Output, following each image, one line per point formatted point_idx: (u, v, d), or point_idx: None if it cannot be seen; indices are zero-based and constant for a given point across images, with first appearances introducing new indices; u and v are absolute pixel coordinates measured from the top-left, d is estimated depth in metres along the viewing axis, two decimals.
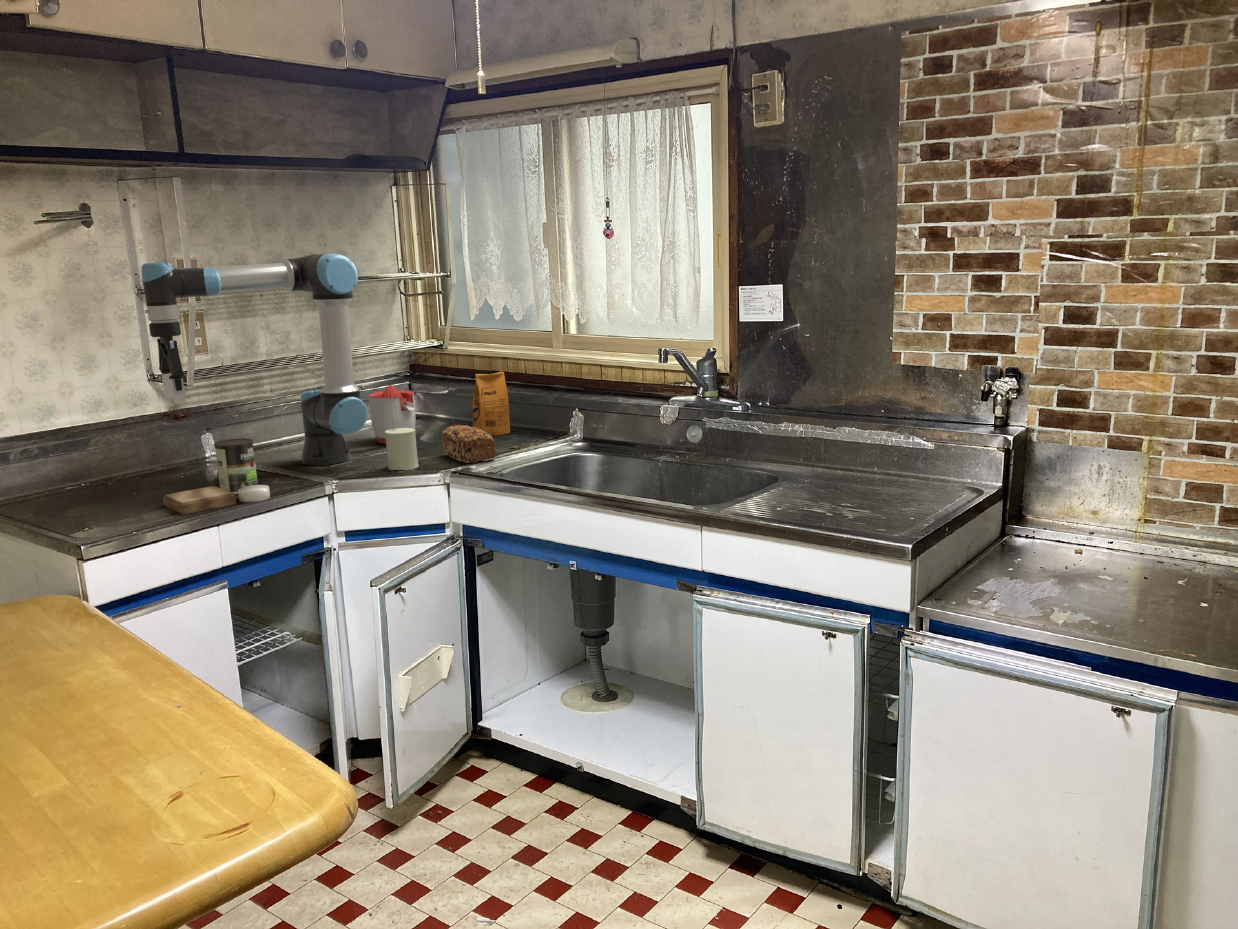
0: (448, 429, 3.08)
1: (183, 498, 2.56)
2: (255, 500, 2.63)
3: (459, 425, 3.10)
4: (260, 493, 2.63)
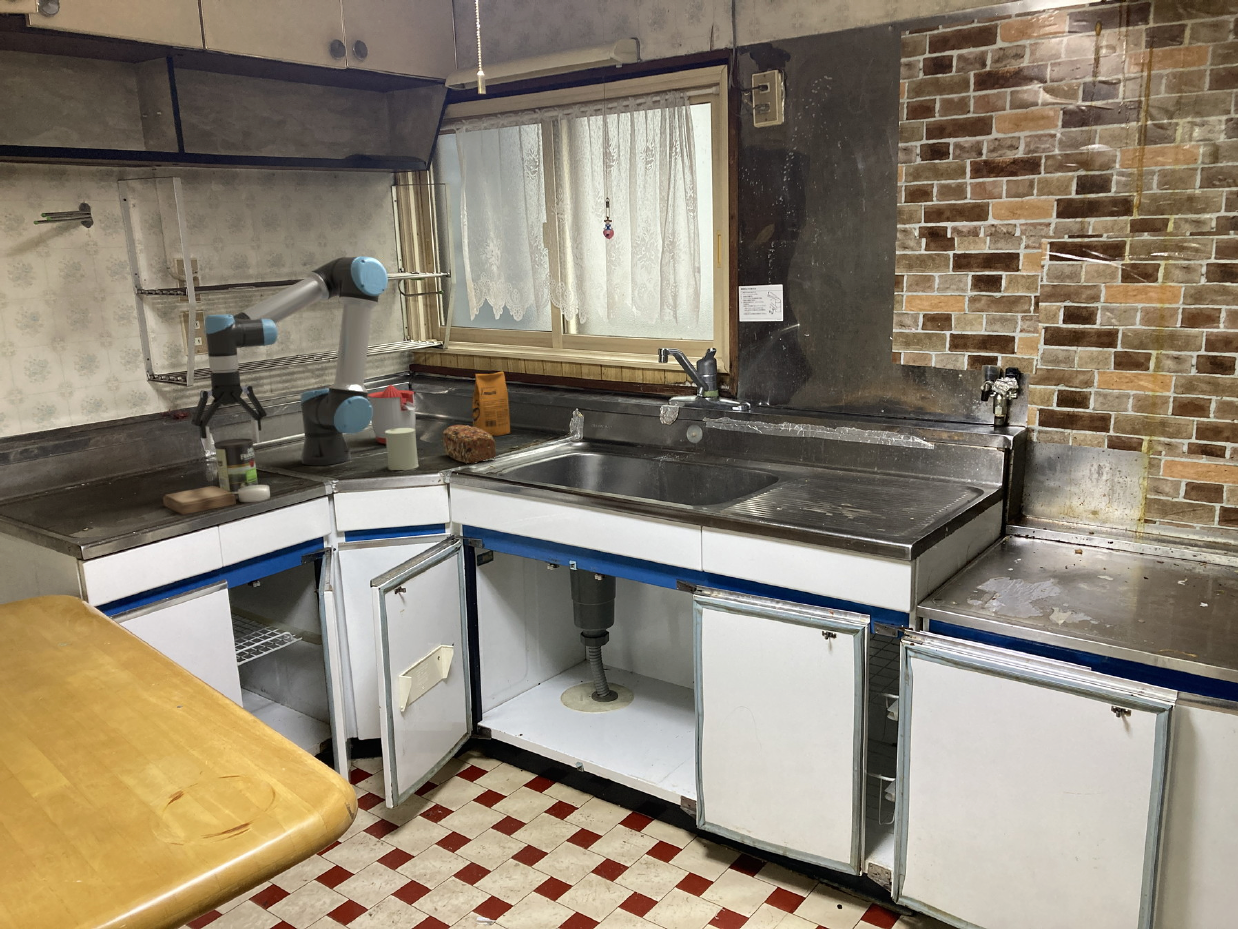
0: (449, 429, 3.09)
1: (183, 498, 2.56)
2: (255, 500, 2.63)
3: (460, 425, 3.10)
4: (260, 493, 2.63)
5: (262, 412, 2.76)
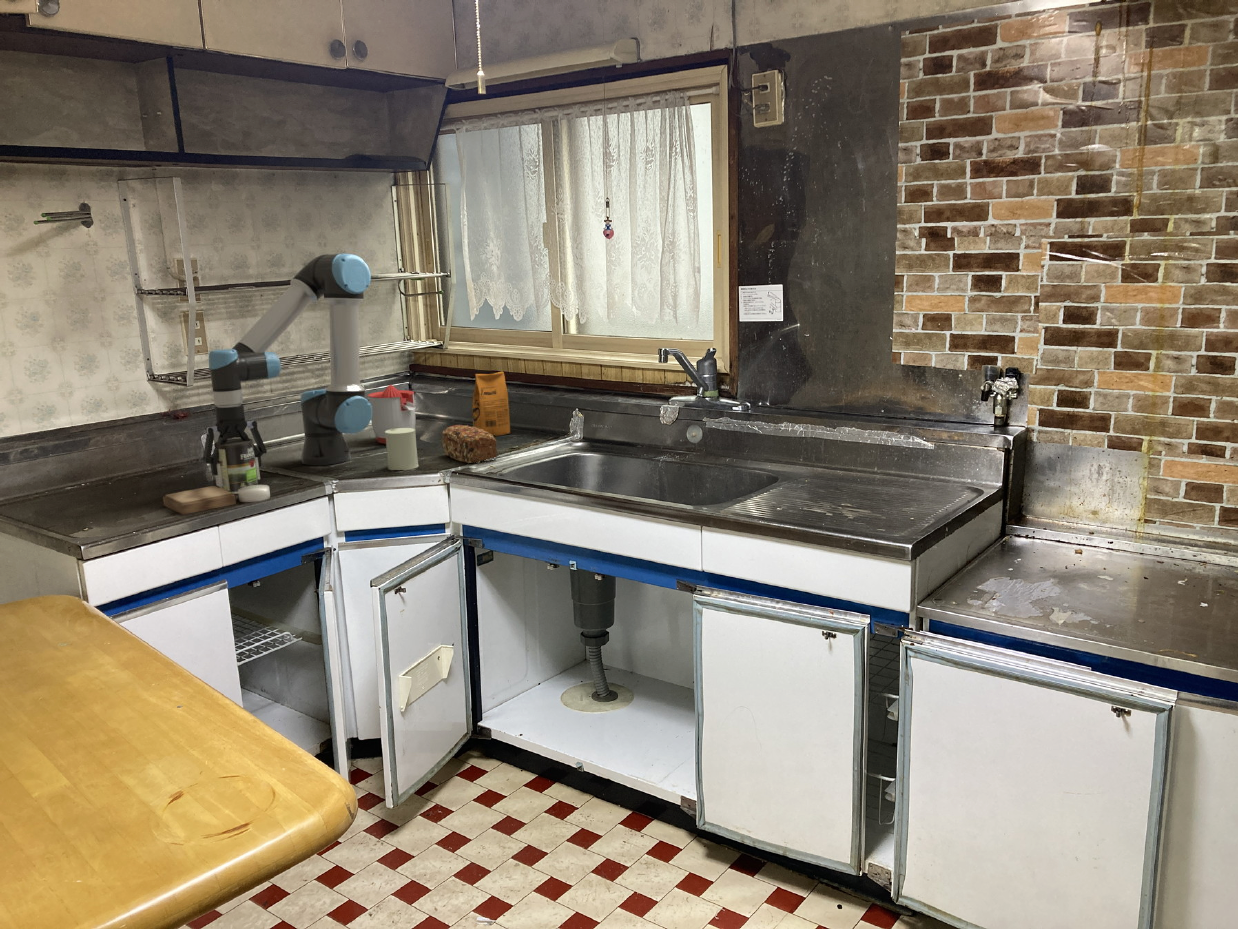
0: (448, 429, 3.08)
1: (183, 498, 2.56)
2: (255, 500, 2.63)
3: (459, 425, 3.10)
4: (260, 493, 2.63)
5: (262, 448, 2.78)
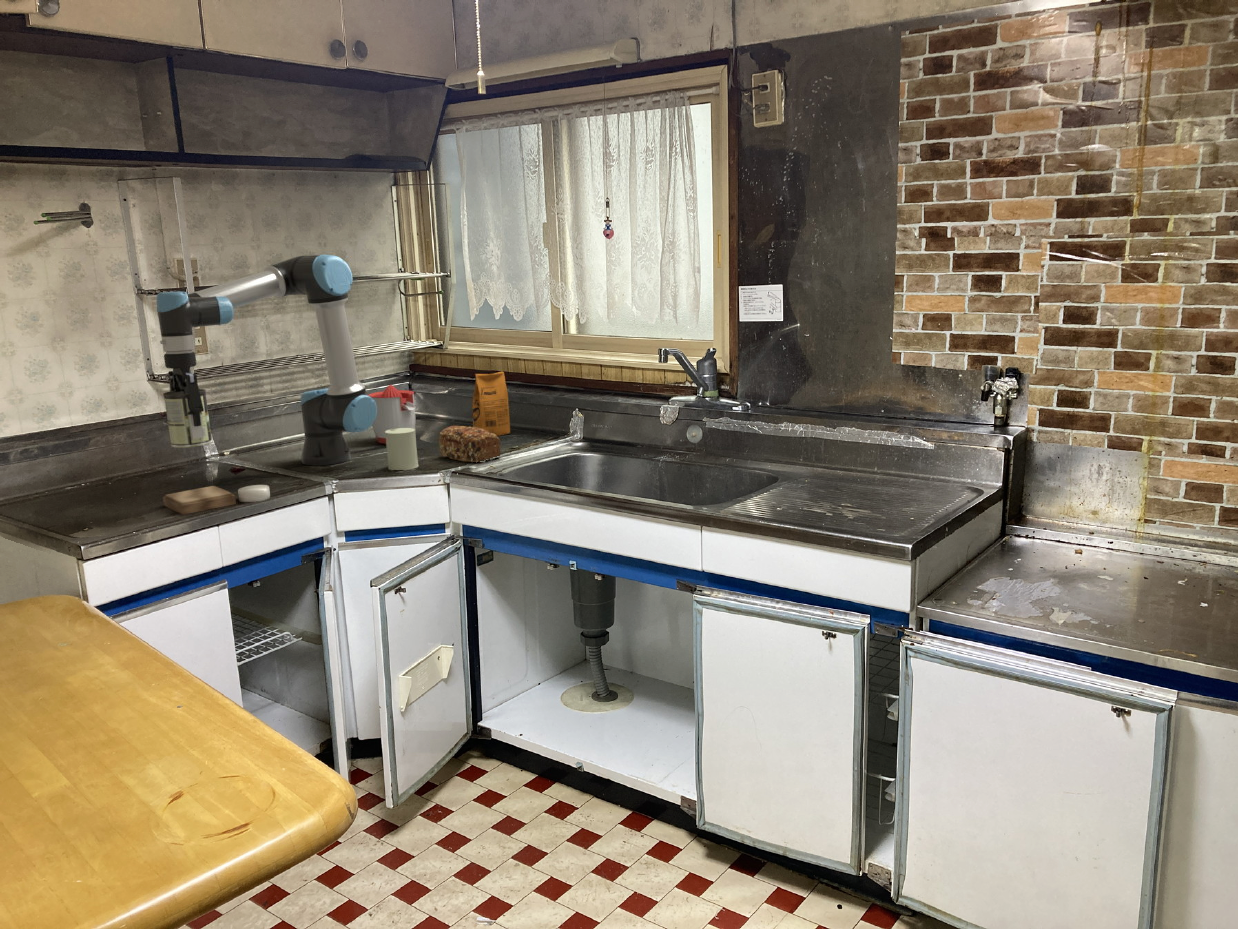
0: (447, 430, 3.07)
1: (183, 498, 2.56)
2: (255, 500, 2.63)
3: (456, 426, 3.09)
4: (260, 493, 2.63)
5: None
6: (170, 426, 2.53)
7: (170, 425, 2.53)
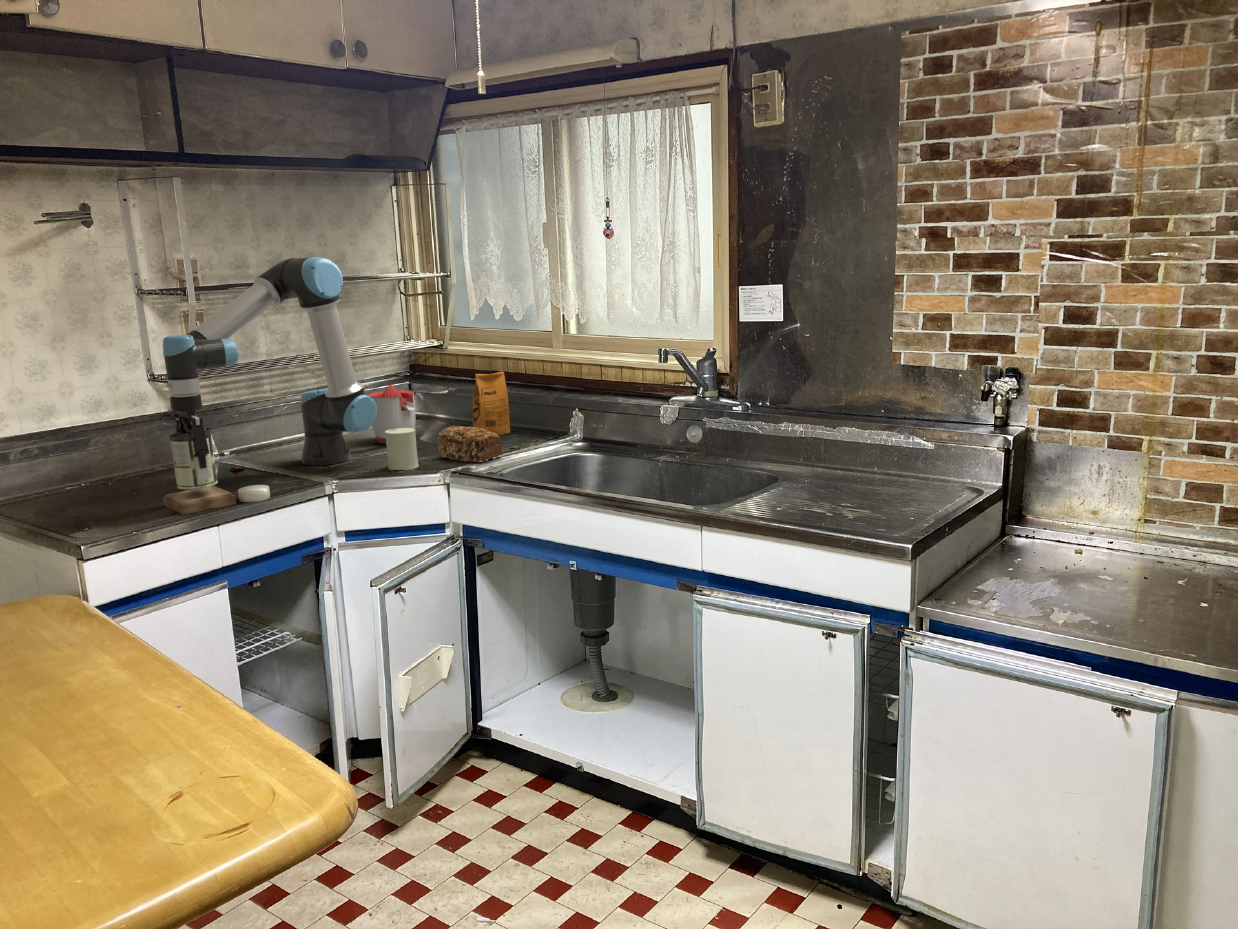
0: (447, 431, 3.06)
1: (183, 498, 2.56)
2: (255, 500, 2.63)
3: (455, 426, 3.09)
4: (260, 493, 2.63)
5: None
6: (176, 468, 2.55)
7: (176, 467, 2.55)
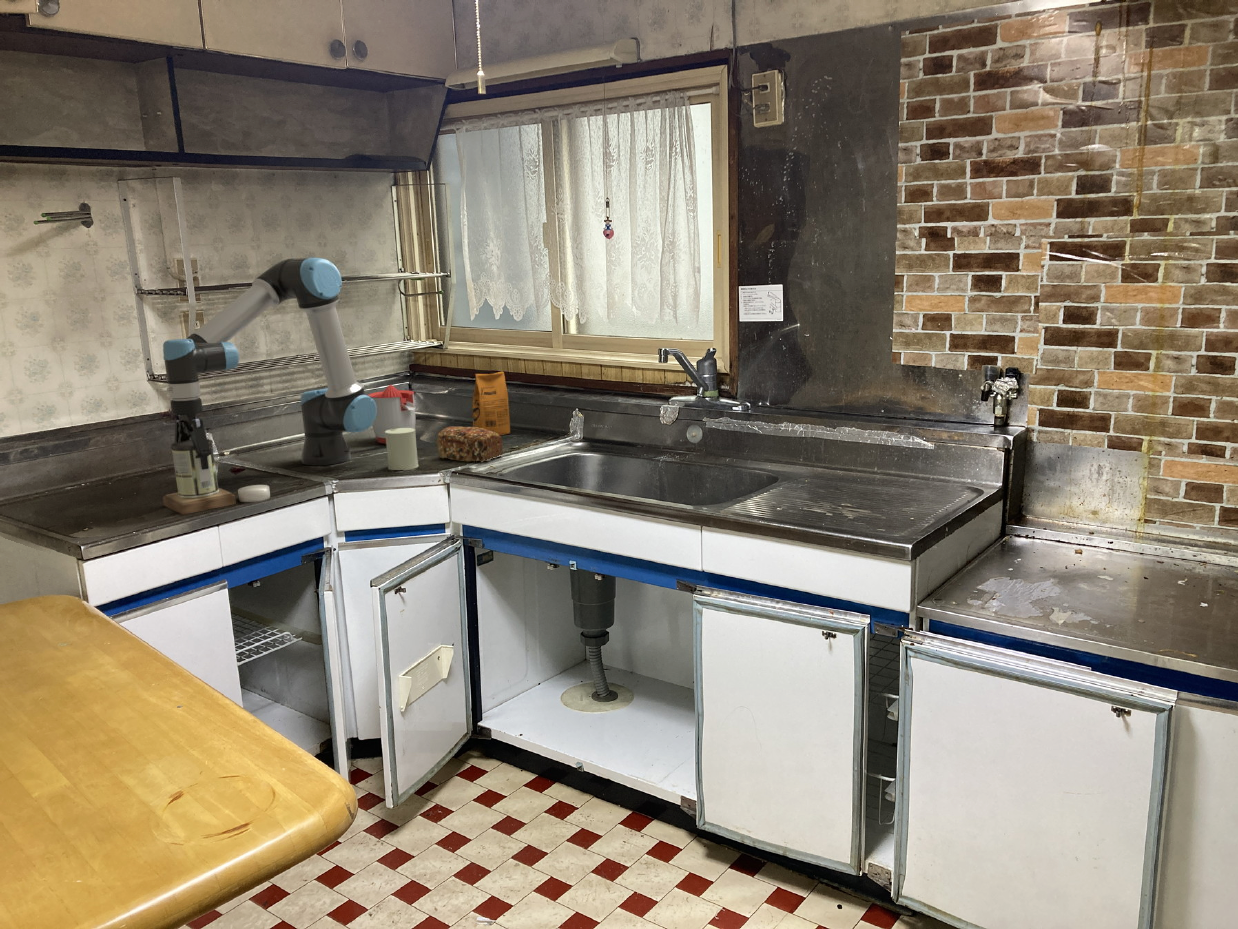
0: (446, 431, 3.05)
1: (183, 498, 2.56)
2: (255, 500, 2.63)
3: (454, 426, 3.08)
4: (260, 493, 2.63)
5: None
6: (177, 477, 2.56)
7: (177, 476, 2.56)
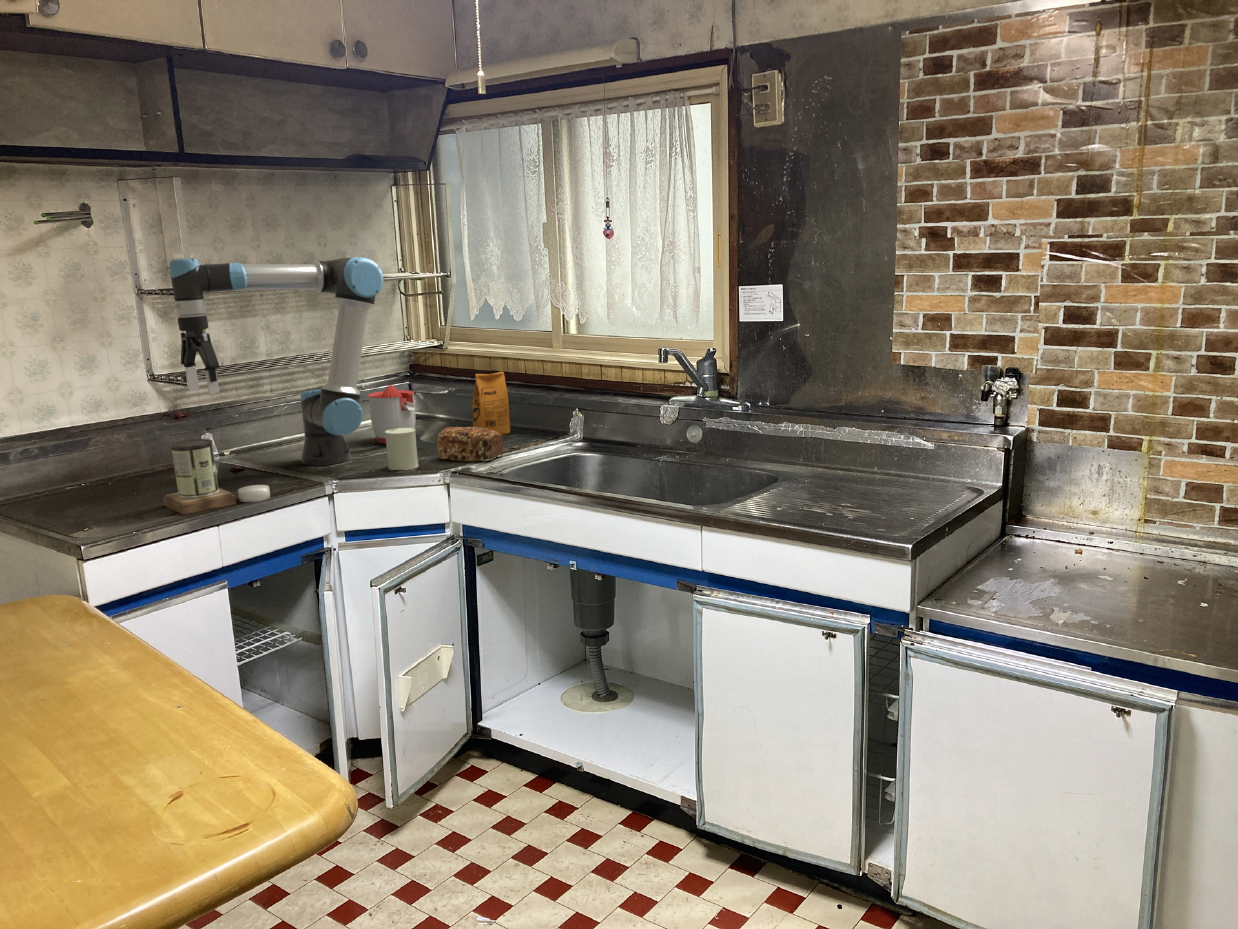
0: (447, 432, 3.04)
1: (183, 498, 2.56)
2: (255, 500, 2.63)
3: (453, 427, 3.08)
4: (260, 493, 2.63)
5: None
6: (177, 477, 2.56)
7: (177, 476, 2.56)
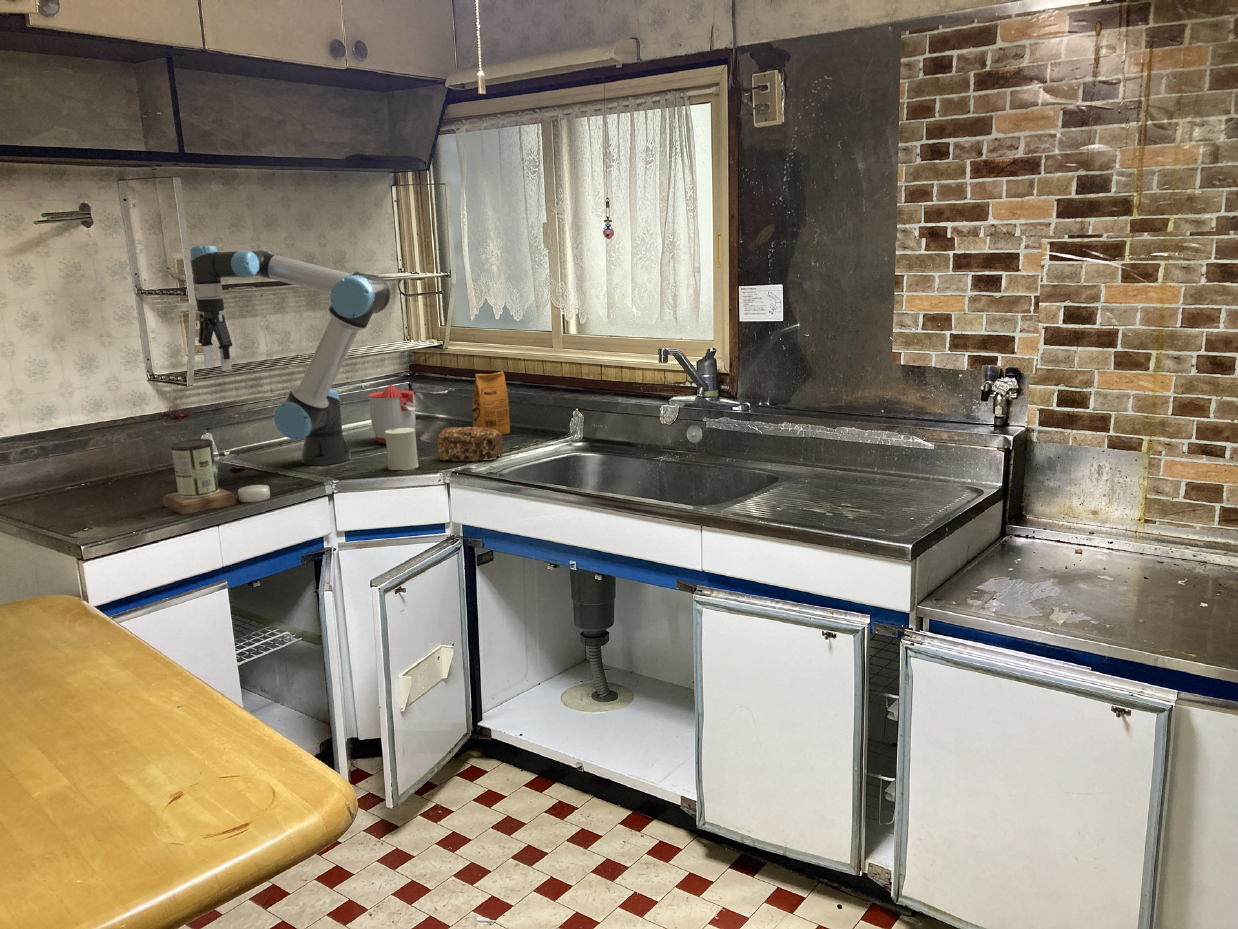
0: (448, 432, 3.03)
1: (183, 498, 2.56)
2: (255, 500, 2.63)
3: None
4: (260, 493, 2.63)
5: None
6: (177, 477, 2.56)
7: (177, 476, 2.56)
